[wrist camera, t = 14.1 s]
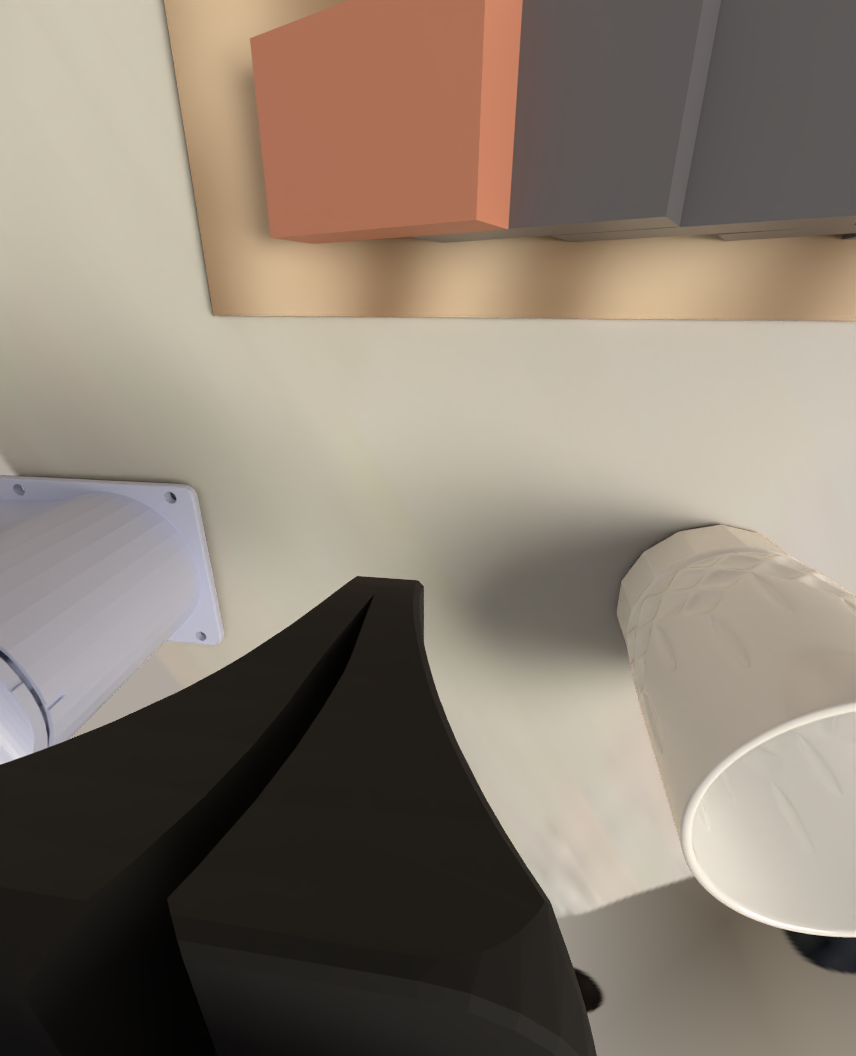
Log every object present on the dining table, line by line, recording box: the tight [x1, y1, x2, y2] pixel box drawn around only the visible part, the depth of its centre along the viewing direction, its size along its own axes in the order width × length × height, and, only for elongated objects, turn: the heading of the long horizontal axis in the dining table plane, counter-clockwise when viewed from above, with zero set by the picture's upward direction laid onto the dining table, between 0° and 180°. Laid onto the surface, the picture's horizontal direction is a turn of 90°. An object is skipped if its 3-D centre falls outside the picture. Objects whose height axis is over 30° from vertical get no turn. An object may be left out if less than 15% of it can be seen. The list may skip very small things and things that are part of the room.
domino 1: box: [413, 0, 721, 243], centre depth 13 cm, size 2×5×7 cm
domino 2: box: [550, 0, 856, 242], centre depth 12 cm, size 2×5×7 cm
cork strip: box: [164, 0, 856, 321], centre depth 15 cm, size 26×9×1 cm, turn 90°
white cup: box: [616, 525, 856, 937], centre depth 16 cm, size 8×8×10 cm
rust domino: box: [250, 0, 523, 244], centre depth 13 cm, size 2×5×7 cm
